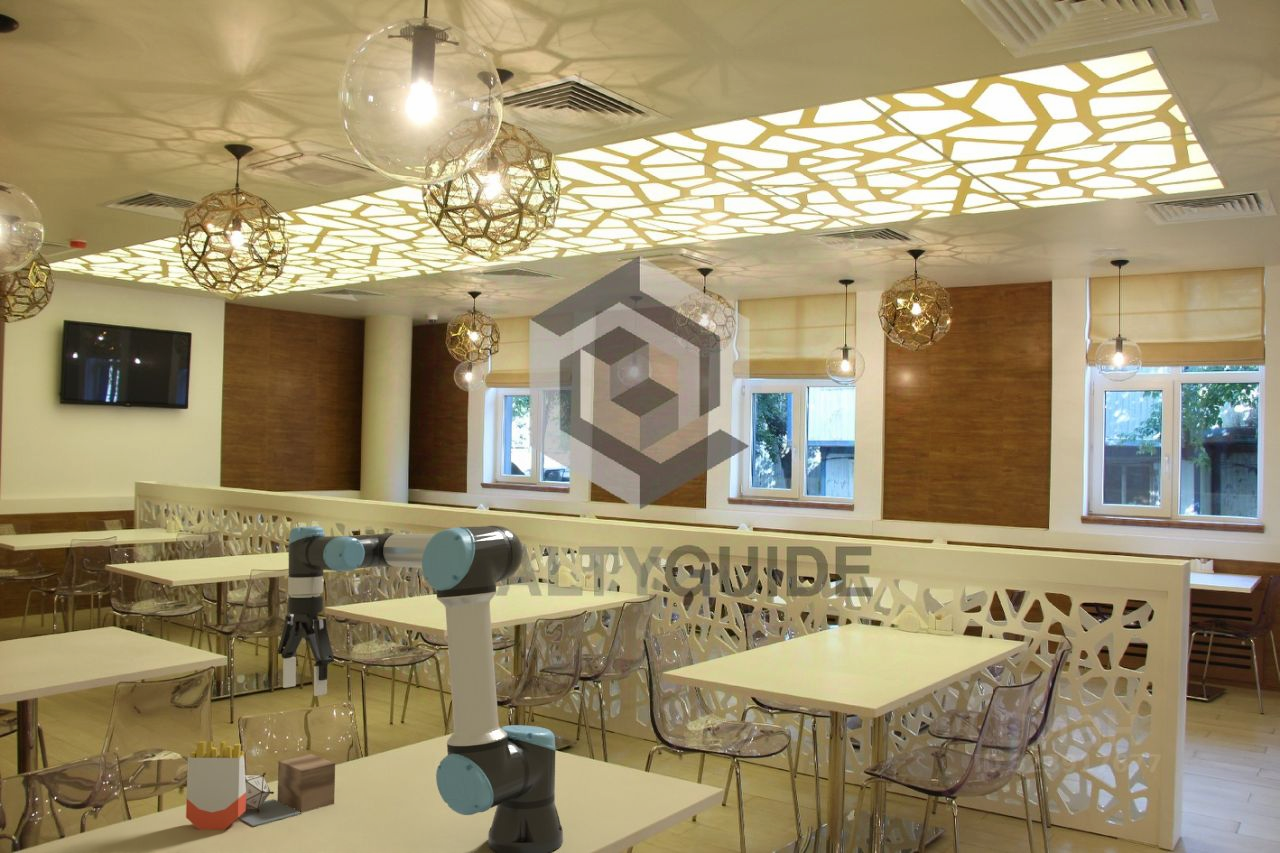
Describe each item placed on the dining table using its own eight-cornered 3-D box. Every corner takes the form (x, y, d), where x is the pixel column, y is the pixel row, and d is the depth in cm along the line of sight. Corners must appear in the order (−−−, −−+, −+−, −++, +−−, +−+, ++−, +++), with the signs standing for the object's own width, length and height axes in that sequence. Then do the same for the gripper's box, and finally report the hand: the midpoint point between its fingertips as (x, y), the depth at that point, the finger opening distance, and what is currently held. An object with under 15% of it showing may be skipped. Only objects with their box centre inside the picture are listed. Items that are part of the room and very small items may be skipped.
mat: (301, 813, 214) (301, 812, 214) (253, 826, 206) (253, 825, 206) (273, 800, 223) (273, 799, 223) (225, 812, 214) (225, 810, 214)
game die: (284, 769, 219) (264, 793, 209) (275, 802, 221) (255, 827, 211) (246, 757, 219) (225, 780, 209) (238, 790, 221) (216, 814, 211)
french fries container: (195, 821, 209) (197, 736, 210) (245, 821, 209) (248, 736, 210) (185, 829, 204) (188, 742, 205) (237, 829, 204) (239, 742, 205)
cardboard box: (334, 803, 221) (335, 763, 221) (301, 812, 215) (302, 771, 215) (309, 792, 228) (310, 753, 229) (277, 800, 222) (278, 760, 223)
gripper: (350, 597, 214) (349, 695, 212) (293, 590, 230) (292, 680, 229) (319, 600, 208) (318, 701, 207) (263, 593, 225) (261, 686, 223)
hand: (304, 690), depth 218 cm, fingers open, 13 cm apart
